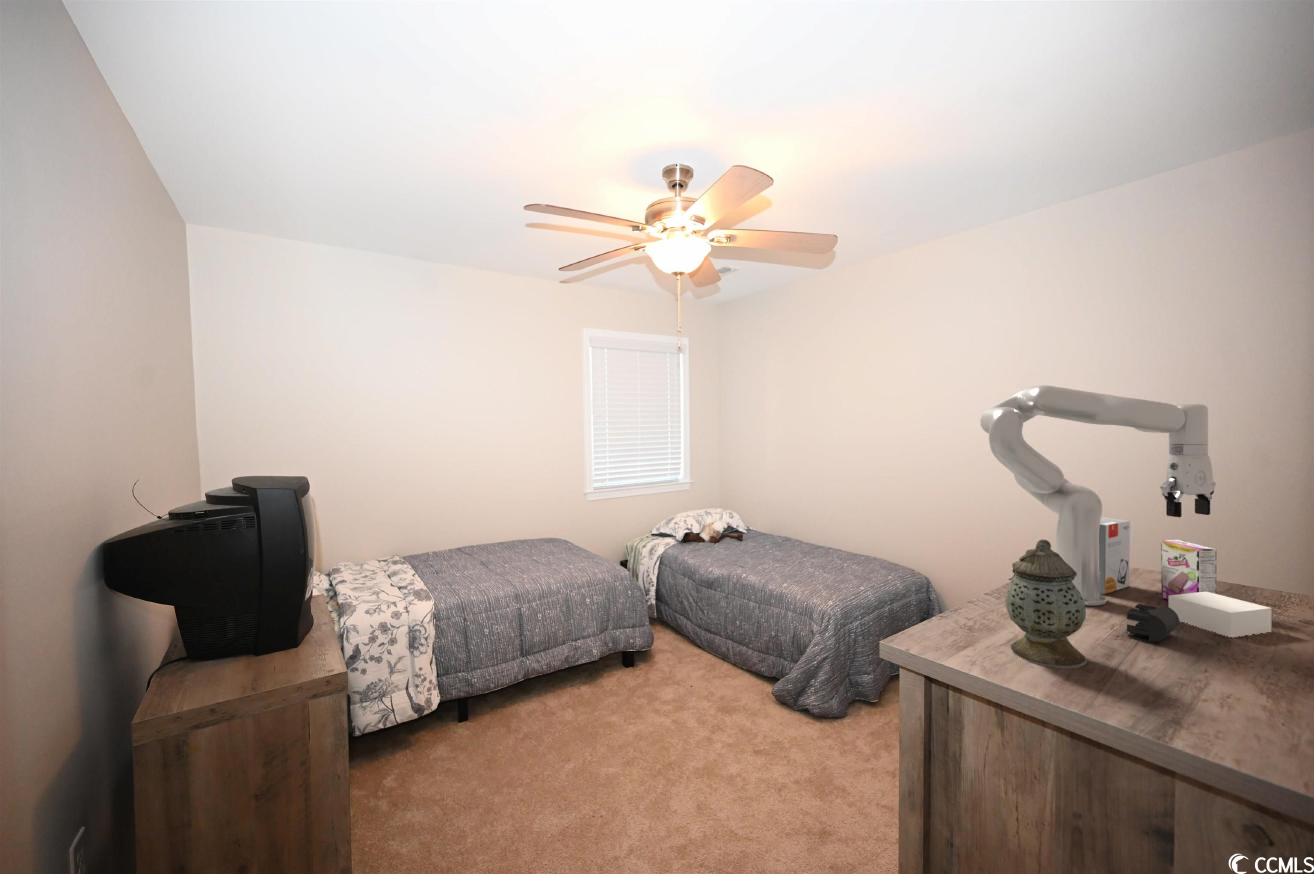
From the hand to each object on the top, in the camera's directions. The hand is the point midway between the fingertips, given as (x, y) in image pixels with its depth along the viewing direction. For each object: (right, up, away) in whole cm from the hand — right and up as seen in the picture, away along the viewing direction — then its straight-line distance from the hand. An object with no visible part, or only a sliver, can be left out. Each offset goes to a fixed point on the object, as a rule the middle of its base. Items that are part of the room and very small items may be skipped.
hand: (1188, 515), depth 148 cm
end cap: (-27, -26, -20) cm, 42 cm away
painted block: (-6, -25, -13) cm, 29 cm away
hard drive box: (-9, -24, +17) cm, 31 cm away
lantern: (-57, -27, -27) cm, 68 cm away
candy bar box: (+1, -24, +1) cm, 24 cm away
